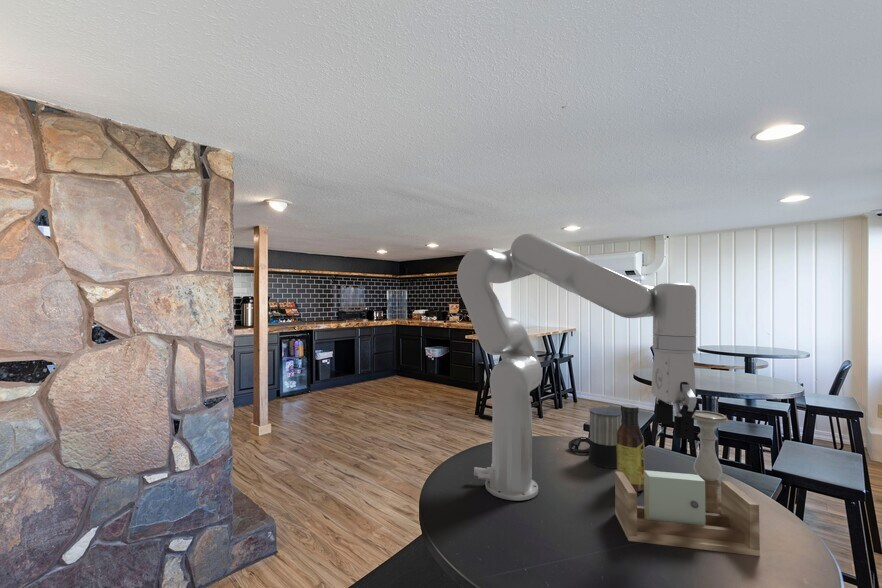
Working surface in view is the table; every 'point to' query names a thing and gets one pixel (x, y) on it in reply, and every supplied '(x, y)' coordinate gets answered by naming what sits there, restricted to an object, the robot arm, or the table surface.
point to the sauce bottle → (631, 447)
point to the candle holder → (709, 458)
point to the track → (720, 532)
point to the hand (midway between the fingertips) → (673, 430)
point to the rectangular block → (674, 497)
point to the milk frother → (601, 437)
